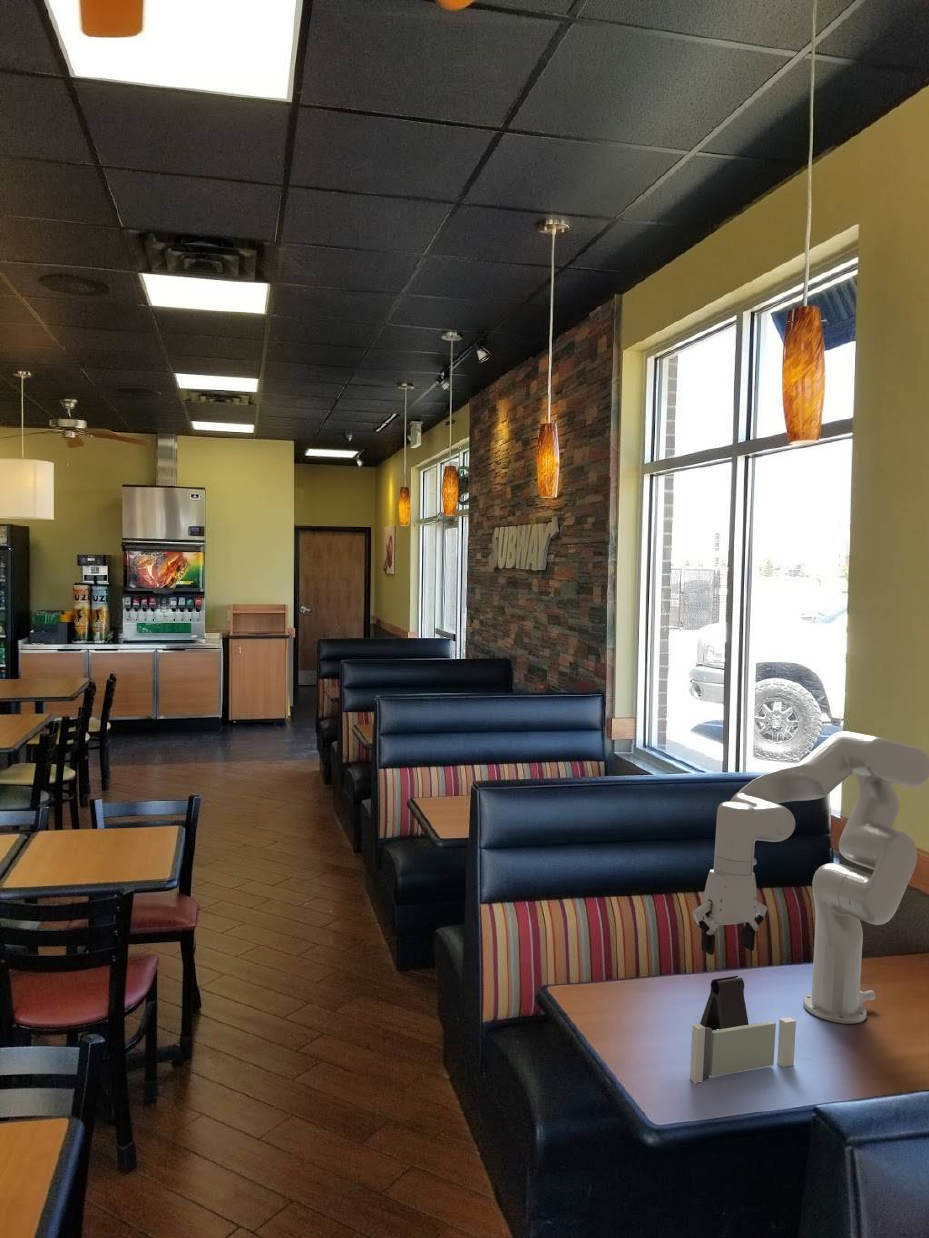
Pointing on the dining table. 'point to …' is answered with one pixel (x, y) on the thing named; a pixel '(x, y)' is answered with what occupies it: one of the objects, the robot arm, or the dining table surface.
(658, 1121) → the dining table surface
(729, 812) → the robot arm
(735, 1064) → the door
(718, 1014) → the phone stand
